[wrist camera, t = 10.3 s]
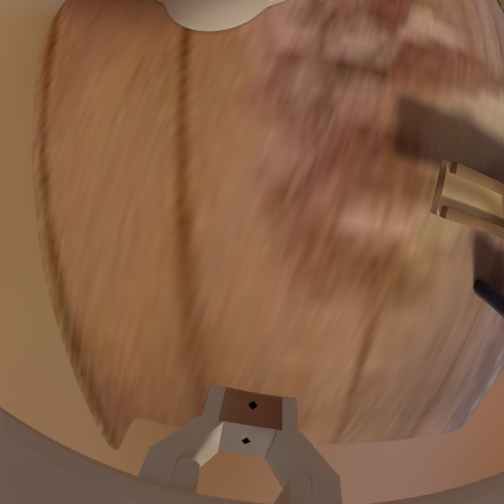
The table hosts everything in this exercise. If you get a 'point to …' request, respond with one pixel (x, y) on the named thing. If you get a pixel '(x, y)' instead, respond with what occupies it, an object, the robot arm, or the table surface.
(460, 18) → the table surface
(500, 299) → the flask
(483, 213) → the beam
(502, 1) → the ceramic model
